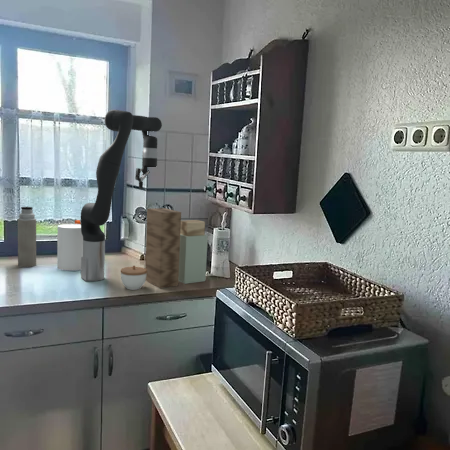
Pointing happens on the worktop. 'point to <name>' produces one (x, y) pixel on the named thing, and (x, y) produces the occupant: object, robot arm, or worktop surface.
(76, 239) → the canister
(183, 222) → the wooden block
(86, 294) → the worktop surface
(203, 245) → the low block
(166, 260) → the tall box
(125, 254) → the worktop surface
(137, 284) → the lidded jar
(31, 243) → the thermos bottle
